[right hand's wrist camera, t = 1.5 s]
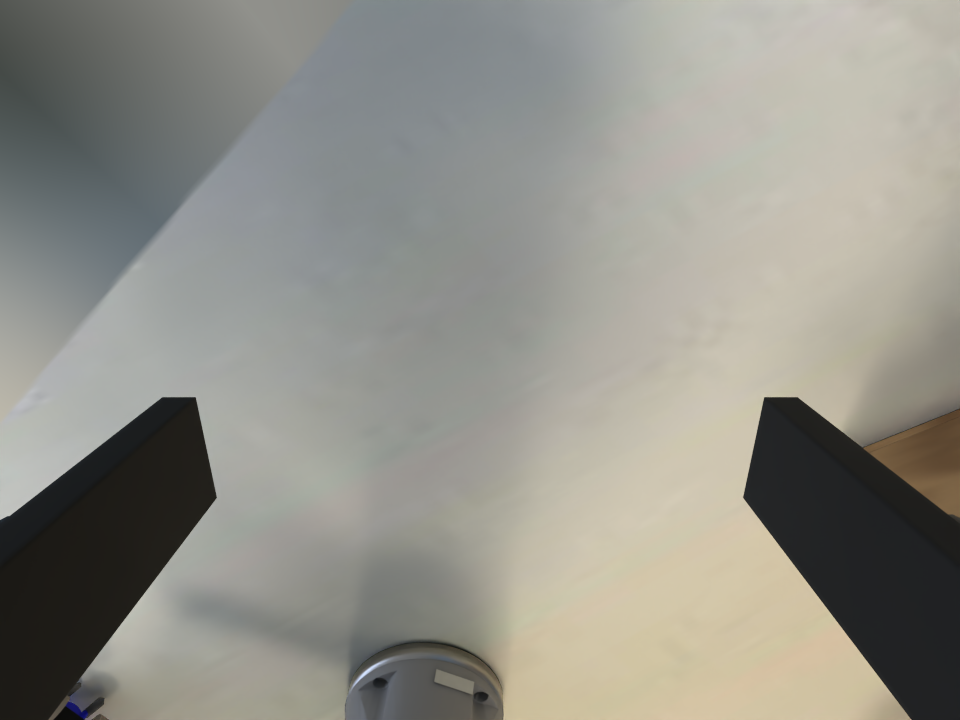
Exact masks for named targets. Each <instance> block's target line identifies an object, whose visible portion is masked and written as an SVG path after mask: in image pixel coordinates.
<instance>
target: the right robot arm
mask: <svg viewBox="0 0 960 720" xmlns="http://www.w3.org/2000/svg"><path fill="white" fill-rule="evenodd" d="M216 498H217V497H216V492H215V487H214V482H213V478H212V473H211V468H210V463H209V459H208V454H207V449H206V444H205V440H204V435H203V430H202V425H201V421H200V416H199V411H198V406H197V402H196V397H162V398H161V399H160V400H158V401H157V402H156V403H155V404H153V405H152V406H151V407H149V408H148V409H147V410H146V411H144V412H143V413H142V414H140V415H139V416H138V417H137V418H135V419H134V420H133V421H131V422H130V423H129V424H128V425H126V426H125V427H124V428H122V429H121V430H120V431H119V432H117V433H116V434H115V435H113V436H112V437H111V438H110V439H108V440H107V441H106V442H104V443H103V444H102V445H101V446H99V447H98V448H97V449H95V450H94V451H93V452H92V453H90V454H89V455H88V456H86V457H85V458H84V459H83V460H81V461H80V462H79V463H77V464H76V465H75V466H74V467H72V468H71V469H70V470H68V471H67V472H66V473H65V474H63V475H62V476H61V477H59V478H58V479H57V480H56V481H54V482H53V483H52V484H50V485H49V486H48V487H47V488H45V489H44V490H43V491H41V492H40V493H39V494H38V495H36V496H35V497H34V498H32V499H31V500H30V501H29V502H27V503H26V504H25V505H23V506H22V507H21V508H20V509H18V510H17V511H16V512H14V513H13V514H12V515H11V516H7V517H5V518H3V519H1V520H0V720H49V718H50V717H51V716H52V714H53V713H54V712H55V710H56V709H57V708H58V706H59V705H60V704H61V702H62V701H63V700H64V699H65V697H66V696H67V695H68V693H69V692H70V691H71V689H72V688H73V687H74V685H75V684H76V683H77V681H78V680H79V679H80V677H81V676H82V675H83V673H84V672H85V671H86V669H87V668H88V667H89V666H90V664H91V663H92V662H93V660H94V659H95V658H96V656H97V655H98V654H99V652H100V651H101V650H102V648H103V647H104V646H105V644H106V643H107V642H108V640H109V639H110V638H111V637H112V635H113V634H114V633H115V631H116V630H117V629H118V627H119V626H120V625H121V623H122V622H123V621H124V619H125V618H126V617H127V615H128V614H129V613H130V611H131V610H132V609H133V608H134V606H135V605H136V604H137V602H138V601H139V600H140V598H141V597H142V596H143V594H144V593H145V592H146V590H147V589H148V588H149V586H150V585H151V584H152V582H153V581H154V580H155V579H156V577H157V576H158V575H159V573H160V572H161V571H162V569H163V568H164V567H165V565H166V564H167V563H168V561H169V560H170V559H171V557H172V556H173V555H174V553H175V552H176V551H177V549H178V548H179V547H180V546H181V544H182V543H183V542H184V540H185V539H186V538H187V536H188V535H189V534H190V532H191V531H192V530H193V528H194V527H195V526H196V524H197V523H198V522H199V520H200V519H201V518H202V517H203V515H204V514H205V513H206V511H207V510H208V509H209V507H210V506H211V505H212V503H213V502H214V501H215V499H216ZM743 498H744V499H745V501H746V502H747V503H748V505H749V506H750V507H751V509H752V510H753V511H754V513H755V514H756V515H757V517H758V518H759V519H760V520H761V522H762V523H763V524H764V526H765V527H766V528H767V530H768V531H769V532H770V534H771V535H772V536H773V538H774V539H775V540H776V542H777V543H778V544H779V546H780V547H781V548H782V549H783V551H784V552H785V553H786V555H787V556H788V557H789V559H790V560H791V561H792V563H793V564H794V565H795V567H796V568H797V569H798V571H799V572H800V573H801V575H802V576H803V577H804V579H805V580H806V581H807V582H808V584H809V585H810V586H811V588H812V589H813V590H814V592H815V593H816V594H817V596H818V597H819V598H820V600H821V601H822V602H823V604H824V605H825V606H826V608H827V609H828V610H829V611H830V613H831V614H832V615H833V617H834V618H835V619H836V621H837V622H838V623H839V625H840V626H841V627H842V629H843V630H844V631H845V633H846V634H847V635H848V637H849V638H850V639H851V640H852V642H853V643H854V644H855V646H856V647H857V648H858V650H859V651H860V652H861V654H862V655H863V656H864V658H865V659H866V660H867V662H868V663H869V664H870V666H871V667H872V668H873V669H874V671H875V672H876V673H877V675H878V676H879V677H880V679H881V680H882V681H883V683H884V684H885V685H886V687H887V688H888V689H889V691H890V692H891V693H892V695H893V696H894V697H895V699H896V700H897V701H898V702H899V704H900V705H901V706H902V708H903V709H904V710H905V712H906V713H907V714H908V716H909V717H910V718H911V720H960V518H959V517H957V516H955V515H953V514H947V513H946V512H944V511H943V510H942V509H940V508H939V507H938V506H937V505H935V504H934V503H933V502H931V501H930V500H929V499H928V498H926V497H925V496H924V495H922V494H921V493H920V492H919V491H917V490H916V489H915V488H913V487H912V486H911V485H910V484H908V483H907V482H906V481H904V480H903V479H902V478H901V477H899V476H898V475H897V474H895V473H894V472H893V471H892V470H890V469H889V468H888V467H886V466H885V465H884V464H883V463H881V462H880V461H879V460H877V459H876V458H875V457H874V456H872V455H871V454H870V453H868V452H867V451H866V450H865V449H863V448H862V447H861V446H859V445H858V444H857V443H856V442H854V441H853V440H852V439H850V438H849V437H848V436H847V435H845V434H844V433H843V432H841V431H840V430H839V429H838V428H836V427H835V426H834V425H832V424H831V423H830V422H829V421H827V420H826V419H825V418H823V417H822V416H821V415H820V414H818V413H817V412H816V411H814V410H813V409H812V408H811V407H809V406H808V405H807V404H805V403H804V402H803V401H802V400H800V399H799V398H798V397H764V401H763V406H762V411H761V416H760V421H759V425H758V430H757V435H756V440H755V444H754V449H753V454H752V459H751V463H750V468H749V473H748V478H747V482H746V487H745V492H744V497H743ZM345 720H503V694H502V689H501V686H500V683H499V681H498V679H497V677H496V676H495V674H494V673H493V672H492V670H491V669H490V668H489V667H488V666H487V665H486V664H485V663H483V662H482V661H481V660H479V659H478V658H476V657H475V656H473V655H471V654H469V653H467V652H465V651H463V650H460V649H457V648H455V647H451V646H447V645H442V644H435V643H410V644H404V645H399V646H395V647H391V648H389V649H386V650H383V651H381V652H379V653H377V654H376V655H374V656H372V657H371V658H369V659H368V660H367V661H366V662H364V663H363V664H362V665H361V666H360V667H359V669H358V670H357V671H356V673H355V674H354V676H353V678H352V681H351V683H350V687H349V691H348V695H347V699H346V704H345Z"/></svg>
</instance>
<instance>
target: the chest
mask: <svg viewBox="0 0 960 720" xmlns="http://www.w3.org/2000/svg"><path fill="white" fill-rule="evenodd" d="M863 449H865V450H866V451H867V452H868V453H870V454H871V455H872V456H874V457H875V458H876V459H877V460H879V461H880V462H881V463H883V464H884V465H885V466H886V467H888V468H889V469H890V470H892V471H893V472H894V473H895V474H897V475H898V476H899V477H901V478H902V479H903V480H904V481H906V482H907V483H908V484H910V485H911V486H912V487H913V488H915V489H916V490H917V491H919V492H920V493H921V494H922V495H924V496H925V497H926V498H928V499H929V500H930V501H931V502H933V503H934V504H935V505H937V506H938V507H939V508H940V509H942V510H943V511H944V512H946V513H947V514H953V515H955V516H957V517H959V518H960V409H959V410H956V411H954V412H951V413H949V414H946V415H944V416H941V417H939V418H936V419H934V420H931V421H929V422H926V423H924V424H921V425H919V426H916V427H914V428H911V429H909V430H906V431H904V432H901V433H899V434H896V435H894V436H891V437H889V438H886V439H884V440H881V441H879V442H876V443H874V444H871V445H869V446H866V447H864V448H863Z"/></svg>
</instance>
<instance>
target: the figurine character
mask: <svg viewBox="0 0 960 720" xmlns="http://www.w3.org/2000/svg"><path fill="white" fill-rule="evenodd" d="M80 687H81V683H76V684H75V685H74V687H73V688H72V689H71V691H70V692H69V693H68V695H67V696H66V697H65V699H64V700H63V701H62V702H61V704H60V705H59V706H58V708H57V709H56V710H55V712H54V713H53V714H52V716H51V717H50V718H49V720H85V718H88V717H89V716H90V715H91V714H93V713H94V712H95V711H96V710H97V709H99V708H100V707H101V706H102V705H103V704H104V698H98V699H97V700H96V701H95V702H93V703H92V704H91V705H90V706H89V707H87V708H86V709H85V710H84V711H83V712H81V710H80V709H79V707H78V706H76V705H75V704H73V703H71V702H68V701H69V700H70V697H69V696H70V695H72V694H73V693H74V692H75V691H76V690H78V689H79V688H80ZM92 720H109V719H107V718H106V717H104V716H103V715H102V714H99V715H97V716H96V717H94V718H93V719H92Z"/></svg>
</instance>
